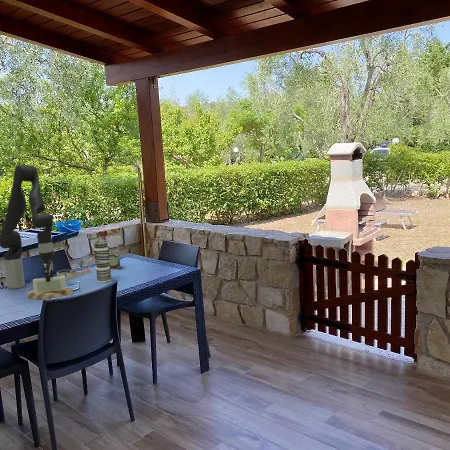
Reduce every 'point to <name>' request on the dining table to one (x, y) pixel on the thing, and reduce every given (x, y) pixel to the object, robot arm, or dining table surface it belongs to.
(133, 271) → the dining table surface
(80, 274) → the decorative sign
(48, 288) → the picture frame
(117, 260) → the food container
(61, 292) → the tan bumpy slab
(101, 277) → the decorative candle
